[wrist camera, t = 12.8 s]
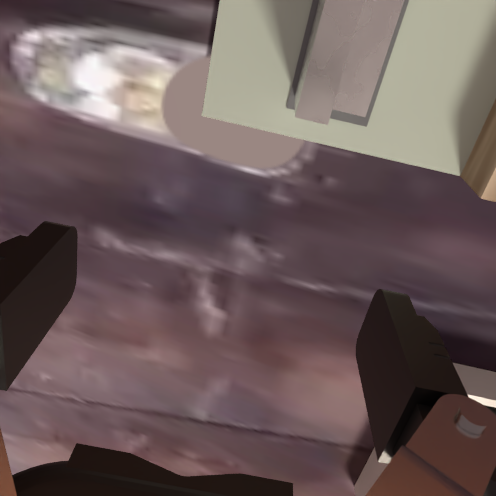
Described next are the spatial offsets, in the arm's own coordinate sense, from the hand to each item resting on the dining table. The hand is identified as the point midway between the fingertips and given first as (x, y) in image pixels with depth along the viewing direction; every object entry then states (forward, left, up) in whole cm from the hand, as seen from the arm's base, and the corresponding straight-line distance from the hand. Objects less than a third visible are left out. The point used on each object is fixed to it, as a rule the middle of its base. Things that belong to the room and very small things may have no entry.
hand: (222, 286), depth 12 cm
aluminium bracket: (+4, +6, -24) cm, 25 cm away
